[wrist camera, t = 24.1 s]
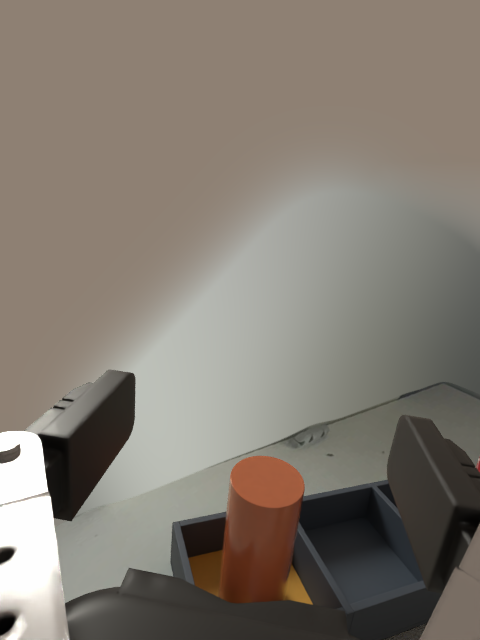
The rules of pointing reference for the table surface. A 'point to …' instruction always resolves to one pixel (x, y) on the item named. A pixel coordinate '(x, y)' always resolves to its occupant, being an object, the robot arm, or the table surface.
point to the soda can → (478, 465)
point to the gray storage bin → (331, 560)
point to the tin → (260, 530)
